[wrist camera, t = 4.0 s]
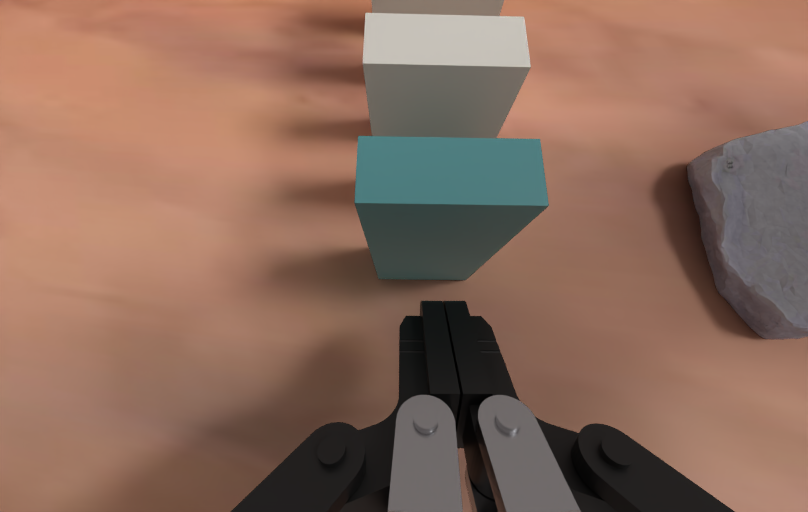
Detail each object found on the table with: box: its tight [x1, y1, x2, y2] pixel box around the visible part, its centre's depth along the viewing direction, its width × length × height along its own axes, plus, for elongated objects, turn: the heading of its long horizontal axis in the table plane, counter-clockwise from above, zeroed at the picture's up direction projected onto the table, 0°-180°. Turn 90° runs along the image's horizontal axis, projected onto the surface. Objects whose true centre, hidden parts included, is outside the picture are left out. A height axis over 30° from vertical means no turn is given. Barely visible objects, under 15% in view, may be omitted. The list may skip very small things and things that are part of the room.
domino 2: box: [363, 13, 531, 138], centre depth 14 cm, size 2×5×10 cm, turn 90°
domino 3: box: [355, 136, 549, 280], centre depth 13 cm, size 2×5×10 cm, turn 90°
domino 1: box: [372, 0, 504, 16], centre depth 15 cm, size 2×5×10 cm, turn 90°
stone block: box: [687, 121, 808, 339], centre depth 17 cm, size 12×5×10 cm
